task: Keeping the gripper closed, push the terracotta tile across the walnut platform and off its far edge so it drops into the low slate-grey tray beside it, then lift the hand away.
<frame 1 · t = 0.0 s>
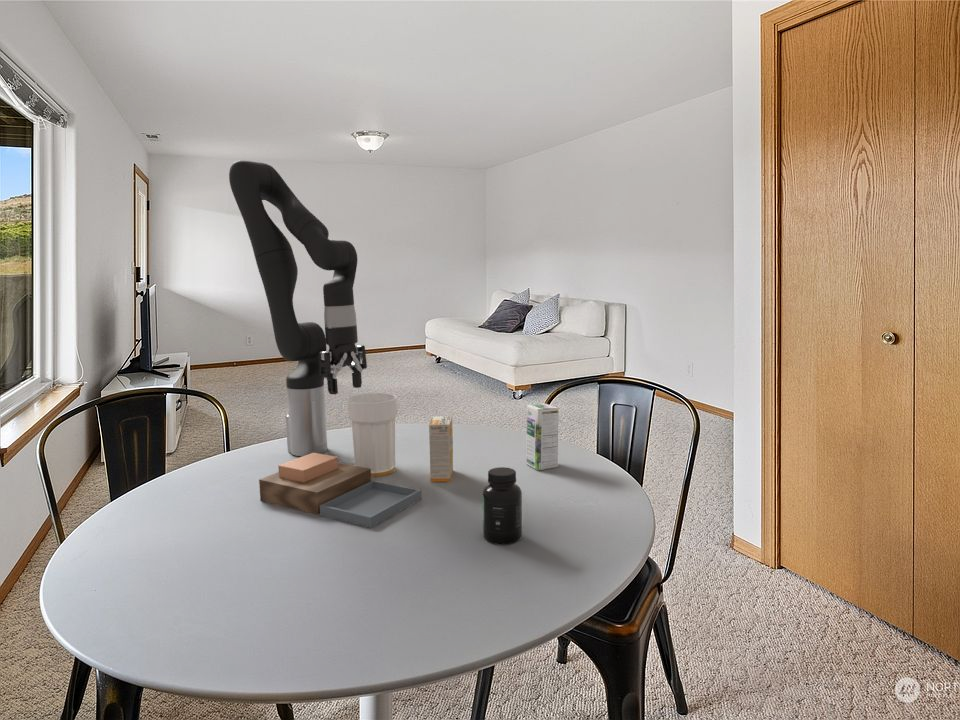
hand: (345, 390, 156), 17 cm above the table, tool pointing down, fingers open, 8 cm apart
terracotta tile: (309, 472, 134), point 4 cm above the table, touching walnut platform
walnut platform: (317, 494, 134), on the table
cup: (375, 471, 149), on the table
syrup box: (542, 466, 151), on the table
slate tray: (372, 507, 127), on the table
supplement box: (442, 477, 144), on the table
supplement bottle: (502, 537, 112), on the table
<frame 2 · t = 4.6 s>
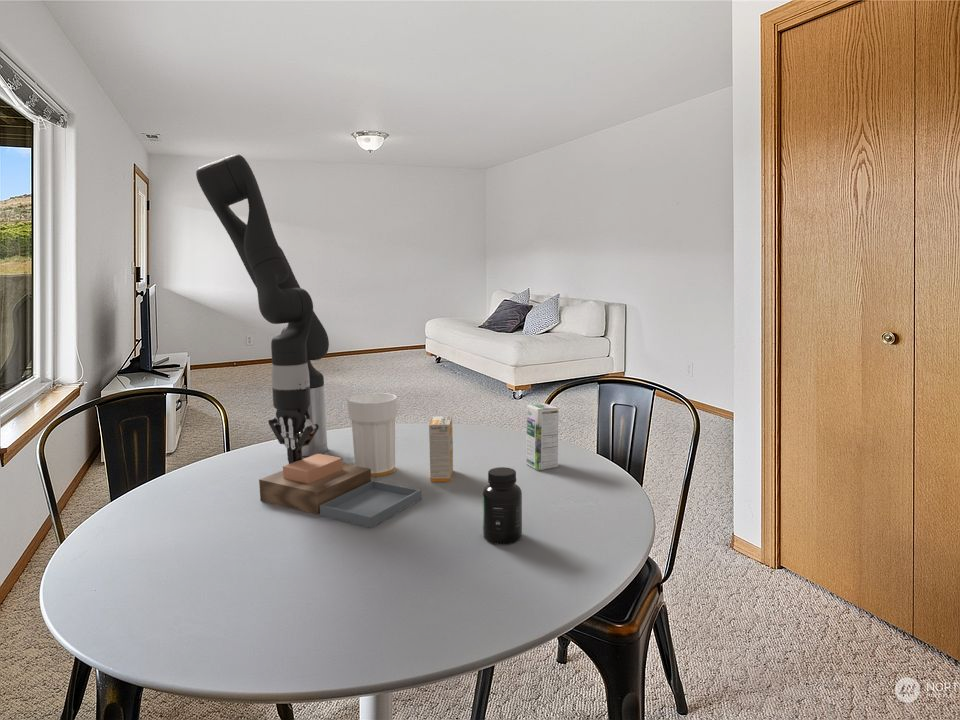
hand: (295, 464, 136), 6 cm above the table, tool pointing down, fingers closed
terracotta tile: (313, 473, 133), point 5 cm above the table, touching gripper
everything else where it was.
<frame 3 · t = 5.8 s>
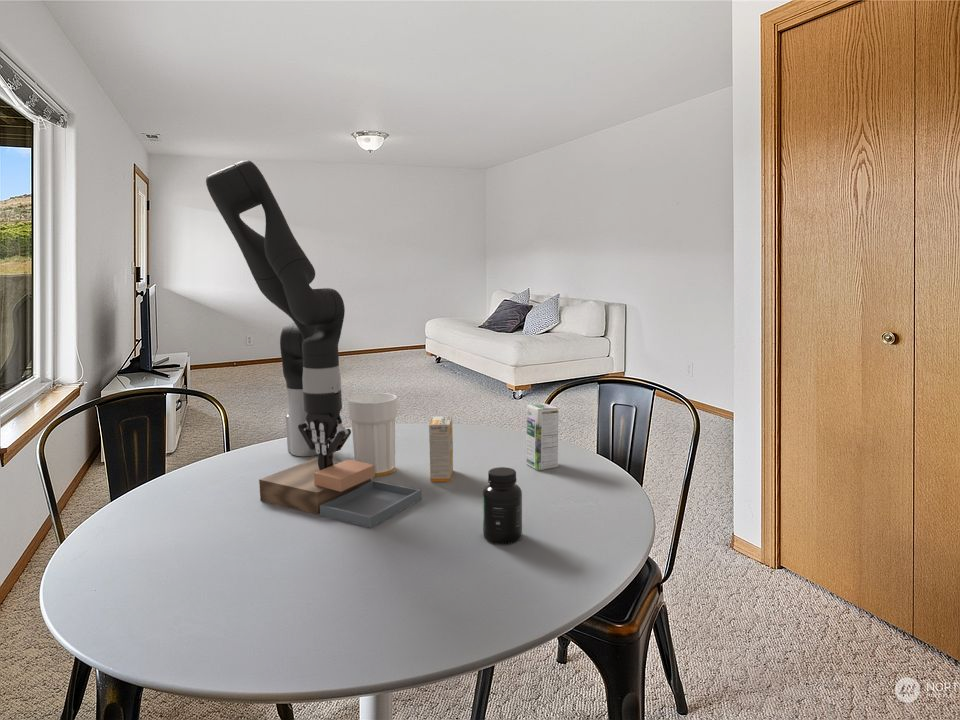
hand: (326, 470, 131), 6 cm above the table, tool pointing down, fingers closed
terracotta tile: (345, 480, 129), point 5 cm above the table, touching walnut platform
everything else where it was.
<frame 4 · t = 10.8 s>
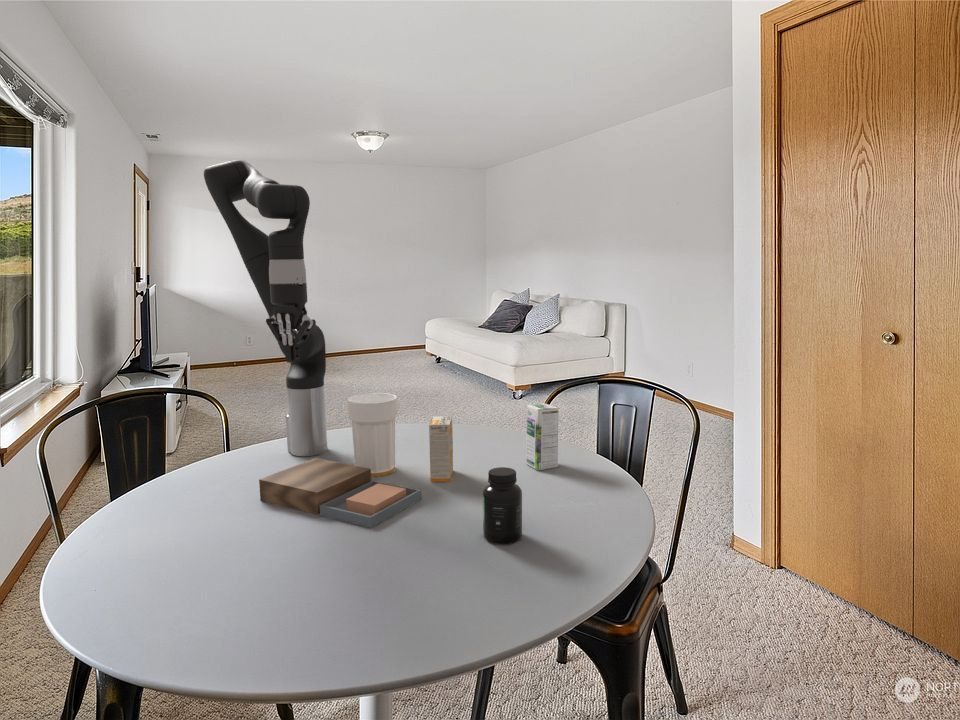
hand: (292, 362, 138), 27 cm above the table, tool pointing down, fingers closed
terracotta tile: (376, 493, 126), point 3 cm above the table, tilted 180°, touching slate tray
everything else where it was.
at the end: terracotta tile inside the target area on the slate tray (1.3 cm from its centre), point 3.0 cm above the slate tray's base; terracotta tile touching slate tray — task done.
